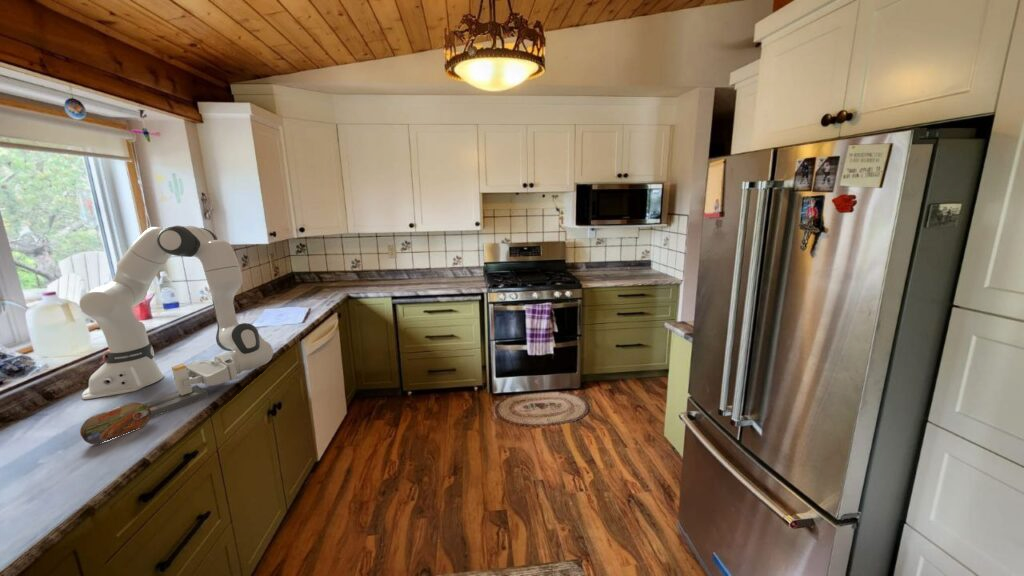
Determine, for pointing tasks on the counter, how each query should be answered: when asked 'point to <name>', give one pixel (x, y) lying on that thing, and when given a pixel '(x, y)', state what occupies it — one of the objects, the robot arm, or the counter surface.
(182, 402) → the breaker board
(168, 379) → the counter surface
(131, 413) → the tin
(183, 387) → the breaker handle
